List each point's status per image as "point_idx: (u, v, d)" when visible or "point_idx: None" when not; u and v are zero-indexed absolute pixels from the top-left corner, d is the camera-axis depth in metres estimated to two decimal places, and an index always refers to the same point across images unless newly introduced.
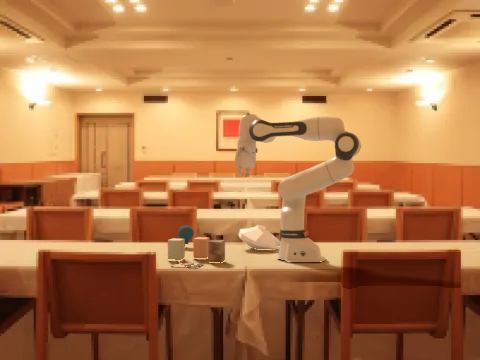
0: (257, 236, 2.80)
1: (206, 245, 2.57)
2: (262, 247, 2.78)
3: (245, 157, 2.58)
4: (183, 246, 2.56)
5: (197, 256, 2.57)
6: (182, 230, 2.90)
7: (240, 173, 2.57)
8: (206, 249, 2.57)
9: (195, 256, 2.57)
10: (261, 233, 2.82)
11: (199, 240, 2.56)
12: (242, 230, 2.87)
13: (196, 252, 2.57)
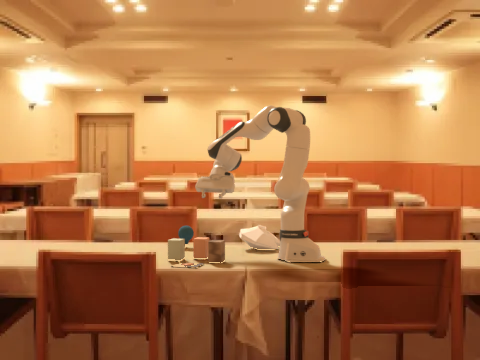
0: (257, 236, 2.80)
1: (206, 245, 2.57)
2: (262, 247, 2.78)
3: (207, 181, 2.79)
4: (183, 246, 2.56)
5: (197, 256, 2.57)
6: (182, 230, 2.90)
7: (202, 194, 2.75)
8: (206, 249, 2.57)
9: (195, 256, 2.57)
10: (261, 233, 2.82)
11: (199, 240, 2.56)
12: (243, 230, 2.88)
13: (196, 252, 2.57)
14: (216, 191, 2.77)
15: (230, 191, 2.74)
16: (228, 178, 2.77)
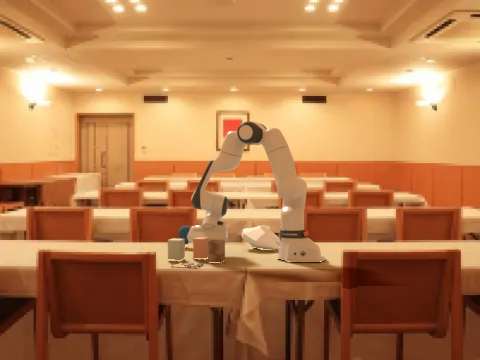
0: (258, 236, 2.81)
1: (206, 245, 2.57)
2: (263, 247, 2.79)
3: (199, 231, 2.69)
4: (183, 246, 2.56)
5: (197, 256, 2.57)
6: (182, 230, 2.90)
7: None
8: (206, 249, 2.57)
9: (195, 256, 2.57)
10: (263, 233, 2.82)
11: (199, 240, 2.56)
12: (245, 230, 2.89)
13: (196, 252, 2.57)
14: None
15: None
16: (221, 228, 2.66)
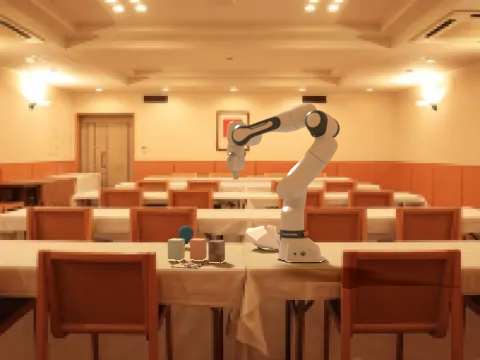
0: (260, 235, 2.82)
1: (203, 246, 2.53)
2: (264, 246, 2.80)
3: (236, 161, 2.74)
4: (183, 246, 2.56)
5: (194, 257, 2.53)
6: (182, 230, 2.90)
7: (235, 177, 2.77)
8: (203, 250, 2.53)
9: (192, 257, 2.53)
10: (265, 233, 2.83)
11: (196, 241, 2.52)
12: (249, 229, 2.91)
13: (193, 254, 2.53)
14: None
15: None
16: (243, 158, 2.84)
